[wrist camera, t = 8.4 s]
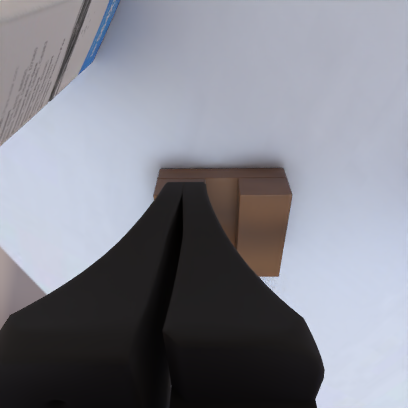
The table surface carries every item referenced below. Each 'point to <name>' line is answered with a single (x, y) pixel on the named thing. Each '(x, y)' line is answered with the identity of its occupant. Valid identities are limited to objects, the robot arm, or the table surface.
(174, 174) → the block
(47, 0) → the ink box
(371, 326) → the table surface
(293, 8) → the table surface
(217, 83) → the table surface
